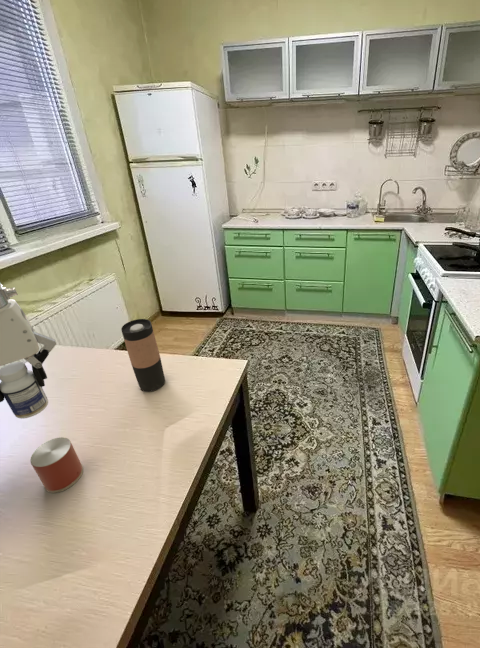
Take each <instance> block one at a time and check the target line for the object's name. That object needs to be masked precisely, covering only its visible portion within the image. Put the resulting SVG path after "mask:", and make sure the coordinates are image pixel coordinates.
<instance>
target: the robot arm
mask: <svg viewBox="0 0 480 648" xmlns="http://www.w3.org/2000/svg"><path fill="white" fill-rule="evenodd" d="M18 294H19V293H18V291H17V289H16V287H10V288H9V287H6V286H3V284H2V283H1V282H0V367H1V366H2V367H3V366H6V365H8V364H11V363H14V362H19V361H20V360H23V359H24V360H25V361H26V362H28V363H29V364H30V365H31V371H32V372H33V373H34V375H35V377H36V380H37V382H38V384H39V386H40V387H42V388H43V387H45V386H46V384H45V380H47V379H48V376H47V373H46V371H45V369H44V367H43V364H44V363H45V360H46V359H47V358H48V356H49V354H50V352H52V351H53V349H54V348H55V347H56V345H57V341H56V339H55V338H53V337H50V336H47V335H45V334H43V333H42V334H41V333H40V332H37V331H35V330H34V328H33V326H32V324H31V322H30V320H29V319H28V317H27V315H26V313H25V311H24V310H23V309H22V308H21V306H20V305H19V303H18V302H17V301H16V299H12V298H13V297H15V296H18ZM39 344H40V345H43V346H42V347H41V348H40V345H39ZM4 401H5V398H4V396H3V394H2V392H1V390H0V403H2V402H4Z"/></svg>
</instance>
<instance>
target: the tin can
mask: <svg viewBox="0 0 480 648" xmlns="http://www.w3.org/2000/svg"><path fill="white" fill-rule="evenodd" d="M30 465H31V466H32V468H33V470H34V471H35V473H36V476H37V477H38V479H39V481H40V482H41V483H42V485H43V487H44V489H45V491H47V492H48V493H51V494H57V493H60V492H63V491H66V490H68V489H70V488H71V487H73V485H75V484H76V483H77V482H78V481H79V480H80V478H81V477H82V475H83V473H84V466H83V464H82V463H81V460H80V458H79V456H78V454H77V452H76V450H75V447H74V446H73V444H72V442H71V440H70V439H69V438H67V437H62V436H61V437H56V438H51V439H50V440H48V441H46V442H44V443H42V444H41V445H40V446H38V447H36V449H35V450H34V452H33V453H32V454H31V457H30Z"/></svg>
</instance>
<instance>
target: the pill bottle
mask: <svg viewBox="0 0 480 648" xmlns="http://www.w3.org/2000/svg"><path fill="white" fill-rule="evenodd" d="M0 390H1V392H2V394H3V396H4V400H5V401H6V403H7V405H8V406H9V408H10V410H11V412H12V414H13V415H14V417H16V419H21V420H22V419H28V418H31V417H34V416H37V415H39V414H40V413H41V412H43V411H44V410H46V409H47V406H48V405H49V399H48V396H47V394H46V393H45V391H44V389H43V387H40V386H39V384H38V382H37V380H36V377H35V375H34V373H33V371H32V370H28V367H27V365H26V363H25V362H23V361H15V362H12V363H8V364H5V365H3V366H2V367H1V368H0Z"/></svg>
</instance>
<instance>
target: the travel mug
mask: <svg viewBox="0 0 480 648" xmlns="http://www.w3.org/2000/svg"><path fill="white" fill-rule="evenodd" d="M120 331H121V333H122V337H123V340H124V344H125V348H126V352H127V355H128V357H129V361H130V365H131V367H132V370H133V373H134V375H135V378H136V381H137V384H138V387H139V389H140V390H141V391H142V392H144V393H145V392H146V393H150V392H154V391H158V390H159V389H160V388H162V387H163V386H164V385H165V383H166V377H165V372H164V368H163V362H162V360H161V359H162V358H161V354H160V351H159V347H158V344H157V343H158V342H157V339H156V335H155V331H154V328H153V325H152V322H151V320H149V319H147V318H138V319H137V318H136V319H134V320H130V321H128V322H126V323H124V324H123V325H122V326H121V330H120Z"/></svg>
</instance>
